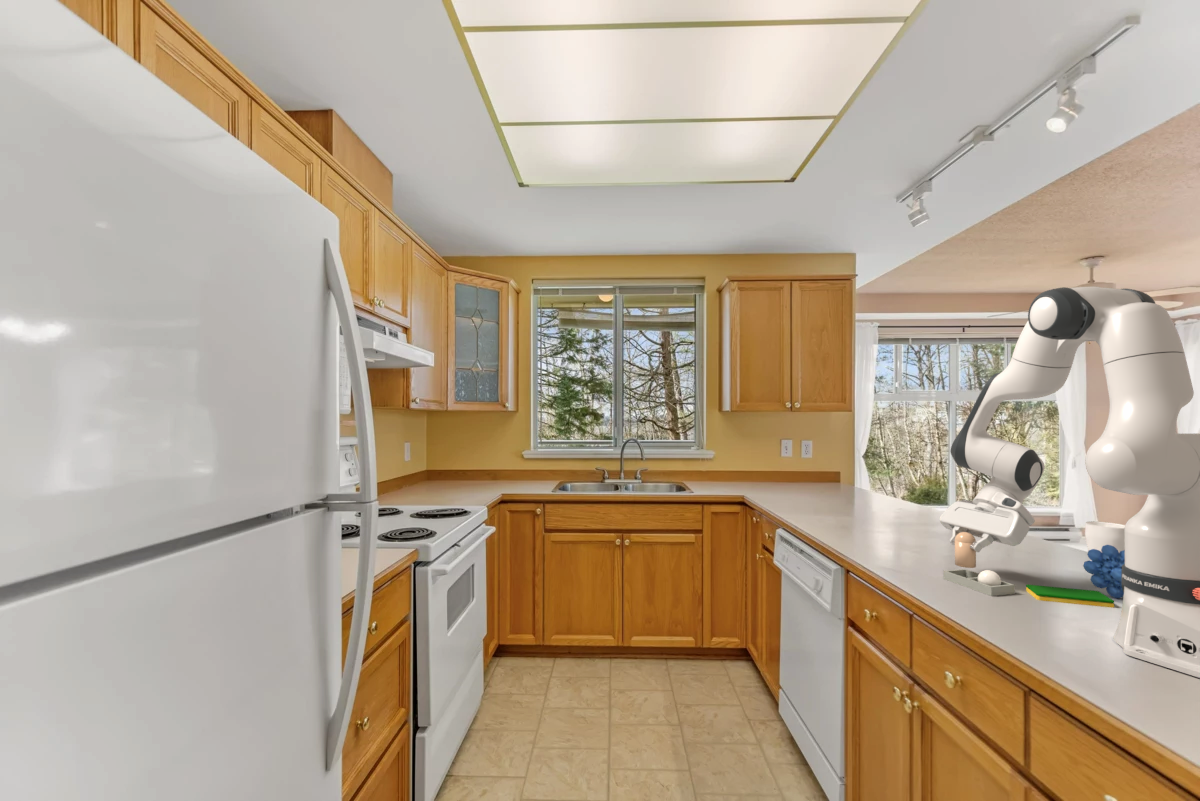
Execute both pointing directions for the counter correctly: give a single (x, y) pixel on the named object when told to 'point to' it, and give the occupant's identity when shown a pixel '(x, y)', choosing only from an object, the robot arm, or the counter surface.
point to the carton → (971, 581)
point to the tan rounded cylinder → (964, 550)
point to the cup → (1104, 535)
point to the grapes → (1106, 569)
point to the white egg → (989, 578)
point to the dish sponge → (1069, 595)
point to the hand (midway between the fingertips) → (963, 546)
